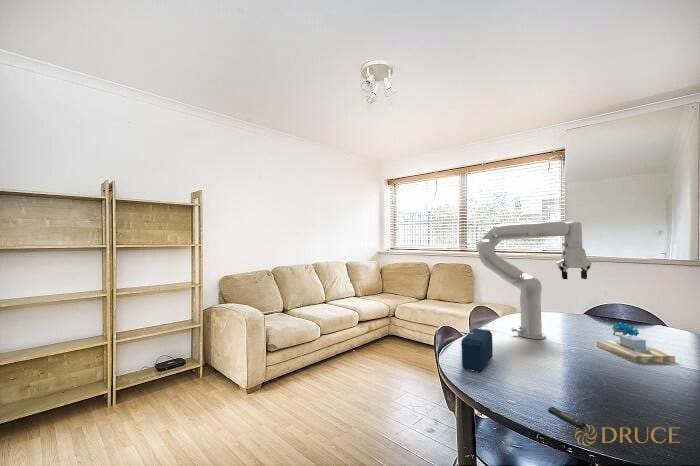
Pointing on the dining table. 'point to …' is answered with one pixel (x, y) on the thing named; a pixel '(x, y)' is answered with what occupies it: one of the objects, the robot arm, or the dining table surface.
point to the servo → (633, 343)
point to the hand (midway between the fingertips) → (574, 278)
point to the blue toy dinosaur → (624, 329)
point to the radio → (477, 350)
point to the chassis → (636, 353)
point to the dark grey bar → (567, 417)
